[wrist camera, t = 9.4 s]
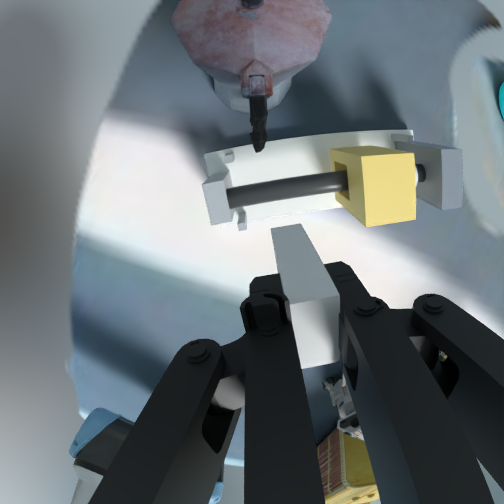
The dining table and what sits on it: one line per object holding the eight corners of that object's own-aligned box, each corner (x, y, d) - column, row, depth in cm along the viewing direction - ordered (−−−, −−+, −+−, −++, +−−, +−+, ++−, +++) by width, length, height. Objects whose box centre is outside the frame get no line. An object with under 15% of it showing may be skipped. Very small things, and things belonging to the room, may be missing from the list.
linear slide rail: (221, 224, 34) (208, 263, 24) (205, 153, 31) (182, 163, 21) (412, 195, 32) (460, 221, 22) (408, 129, 29) (461, 134, 19)
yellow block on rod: (335, 199, 30) (366, 227, 21) (329, 148, 27) (361, 156, 19) (375, 194, 29) (415, 219, 21) (370, 145, 27) (414, 153, 18)
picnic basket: (360, 454, 66) (376, 528, 38) (287, 457, 63) (293, 543, 36) (414, 405, 54) (448, 495, 26) (331, 409, 51) (354, 529, 24)
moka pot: (285, 23, 24) (320, -77, 5) (303, 139, 30) (373, 151, 12) (205, 32, 24) (153, -61, 6) (221, 149, 30) (174, 171, 12)
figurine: (365, 343, 43) (393, 411, 29) (372, 378, 47) (393, 438, 33) (316, 361, 44) (332, 433, 31) (329, 393, 49) (343, 455, 35)
